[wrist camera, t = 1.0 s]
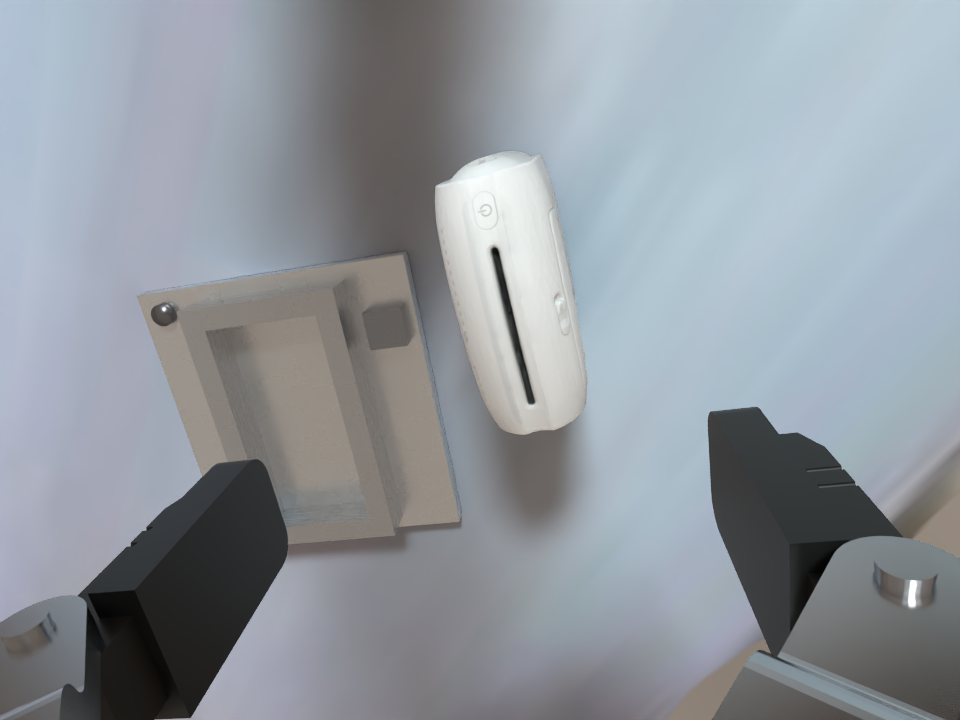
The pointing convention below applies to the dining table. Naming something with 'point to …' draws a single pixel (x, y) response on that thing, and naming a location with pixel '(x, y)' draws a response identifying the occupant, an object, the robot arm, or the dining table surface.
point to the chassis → (314, 392)
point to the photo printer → (513, 290)
